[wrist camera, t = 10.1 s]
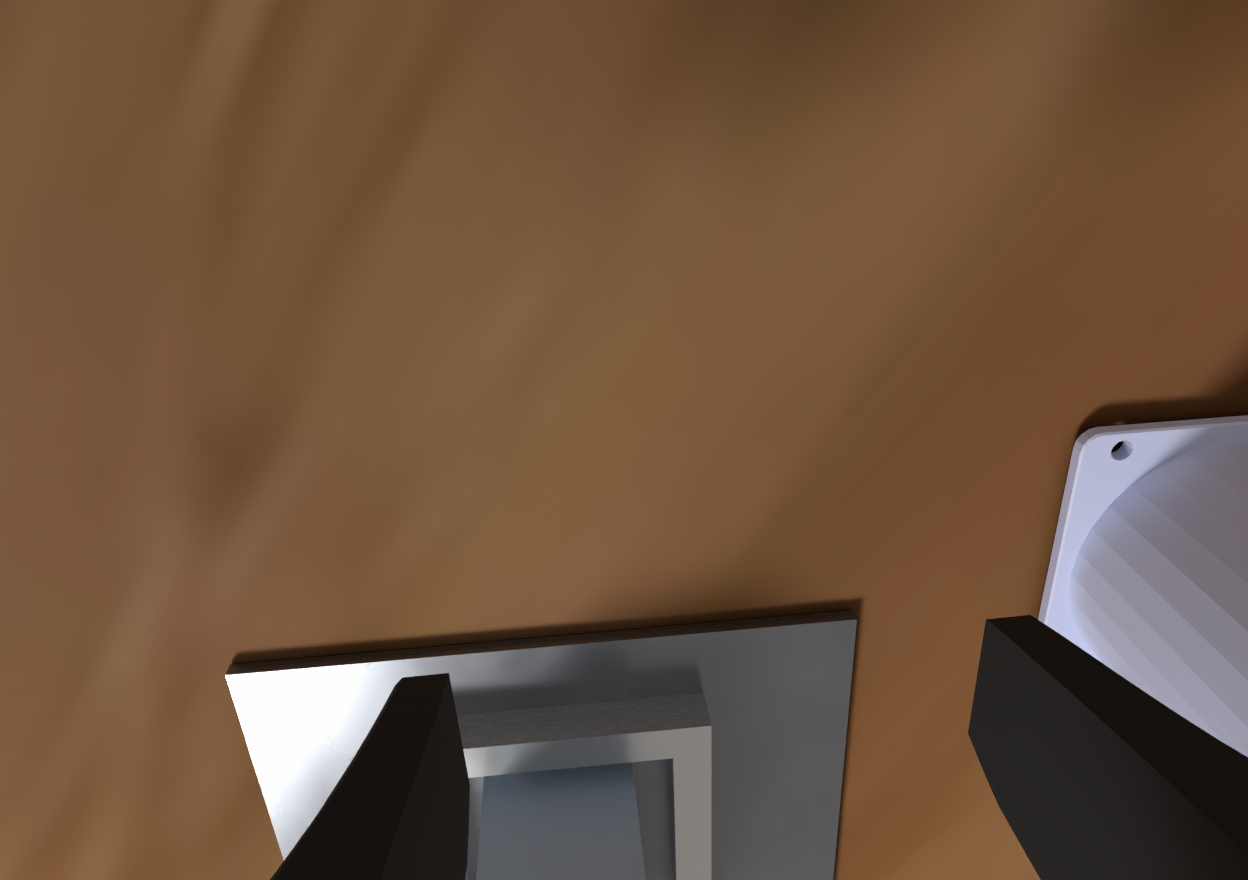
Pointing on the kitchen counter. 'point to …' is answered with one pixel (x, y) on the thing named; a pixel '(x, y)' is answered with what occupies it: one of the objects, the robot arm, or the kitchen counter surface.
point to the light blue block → (561, 825)
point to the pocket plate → (602, 731)
